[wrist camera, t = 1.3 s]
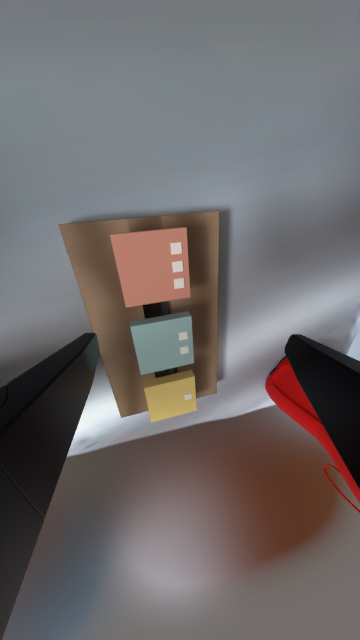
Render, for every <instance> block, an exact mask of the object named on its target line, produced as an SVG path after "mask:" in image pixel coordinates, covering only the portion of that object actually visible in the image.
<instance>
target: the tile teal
mask: <svg viewBox="0 0 360 640" xmlns="http://www.w3.org/2000/svg"><path fill="white" fill-rule="evenodd" d="M130 328H131V333H132V337H133V342H134V346H135V351H136V355H137V360H138V364H139V369H140V373H141V375H144V374H148V373H153V372H157V371H161V370H166V369H170V368H175V367H179V366H183V365H188V364H192V363H194V354H193V336H192V318H191V315H190V313H189V312H188V311H186V312H181V313H175V314H169V315H164V316H158V317H152V318H146V319H141V320H135V321H130Z"/></svg>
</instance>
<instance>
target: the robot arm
mask: <svg viewBox="0 0 360 640" xmlns="http://www.w3.org/2000/svg"><path fill="white" fill-rule="evenodd" d="M285 354H286V356H287V358H288V360H289V363H290V365H291V367H292V369H293V372H294V374H295V376H296V378H297V380H298V382H299V384H300V386H301V388H302V389H303V391H304V393H305V395H306V397H307V398H308V400H309V402H310V404H311V405H312V407H313V409H314V411H315V412H316V414H317V416H318V418H319V419H320V421H321V423H322V425H323V426H324V428H325V430H326V432H327V434H328V435H329V437H330V439H331V441H332V442H333V444H334V446H335V448H336V449H337V451H338V453H339V455H340V456H341V458H342V460H343V462H344V463H345V465H346V467H347V469H348V471H349V472H350V474H351V476H352V478H353V479H354V481H355V483H356V485H357V486H358V488H359V489H360V361H358V360H356V359H353V358H351V357H349V356H347V355H345V354H342V353H340V352H338V351H336V350H334V349H331V348H329V347H327V346H325V345H323V344H320V343H318V342H316V341H314V340H312V339H309V338H307V337H305V336H303V335H300V334H293V335H291V336H290V337H289V340H288V342H287V344H286V346H285ZM98 356H99V344H98V339H97V335H96V333H85V334H83V335H82V336H80V337H79V338H77V339H76V340H74V341H72V342H71V343H69V344H68V345H66V346H65V347H63V348H62V349H60V350H58V351H57V352H55V353H54V354H52V355H51V356H49V357H48V358H46V359H44V360H43V361H41V362H40V363H38V364H37V365H35V366H34V367H32V368H31V369H29V370H27V371H26V372H24V373H23V374H21V375H20V376H18V377H17V378H15V379H13V380H12V381H10V382H9V383H8V384H7V385H4V386H2V387H1V388H0V640H2V638H3V635H4V632H5V629H6V626H7V623H8V621H9V618H10V615H11V612H12V610H13V607H14V604H15V601H16V598H17V595H18V592H19V590H20V587H21V584H22V581H23V579H24V575H25V573H26V570H27V567H28V564H29V561H30V559H31V556H32V553H33V550H34V547H35V545H36V542H37V539H38V536H39V533H40V531H41V528H42V525H43V522H44V518H45V516H46V513H47V510H48V508H49V505H50V502H51V499H52V496H53V493H54V491H55V487H56V485H57V482H58V479H59V477H60V474H61V471H62V468H63V465H64V462H65V460H66V457H67V454H68V451H69V448H70V446H71V443H72V440H73V437H74V434H75V431H76V429H77V426H78V423H79V420H80V417H81V415H82V412H83V409H84V406H85V403H86V400H87V398H88V395H89V392H90V389H91V386H92V382H93V378H94V374H95V369H96V365H97V360H98Z"/></svg>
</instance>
